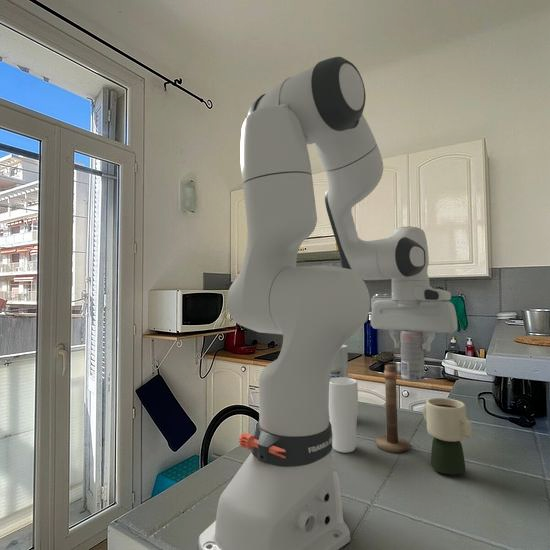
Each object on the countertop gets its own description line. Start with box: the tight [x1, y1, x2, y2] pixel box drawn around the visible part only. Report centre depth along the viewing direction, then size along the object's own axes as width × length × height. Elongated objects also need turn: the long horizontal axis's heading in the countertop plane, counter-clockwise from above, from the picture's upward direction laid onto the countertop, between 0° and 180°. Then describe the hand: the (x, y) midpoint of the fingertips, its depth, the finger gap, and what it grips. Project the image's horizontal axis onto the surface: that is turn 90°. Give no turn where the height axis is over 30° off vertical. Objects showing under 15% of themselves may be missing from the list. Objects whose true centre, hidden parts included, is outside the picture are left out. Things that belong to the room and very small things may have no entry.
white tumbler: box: [329, 377, 359, 454], centre depth 79 cm, size 7×7×15 cm
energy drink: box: [399, 330, 426, 383], centre depth 86 cm, size 5×5×12 cm
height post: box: [375, 364, 410, 454], centre depth 80 cm, size 7×7×18 cm
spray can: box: [329, 344, 349, 421], centre depth 98 cm, size 6×6×20 cm
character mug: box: [422, 397, 473, 475], centre depth 69 cm, size 11×7×13 cm, turn 24°
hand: (412, 349), depth 86 cm, fingers closed on energy drink, 5 cm apart
